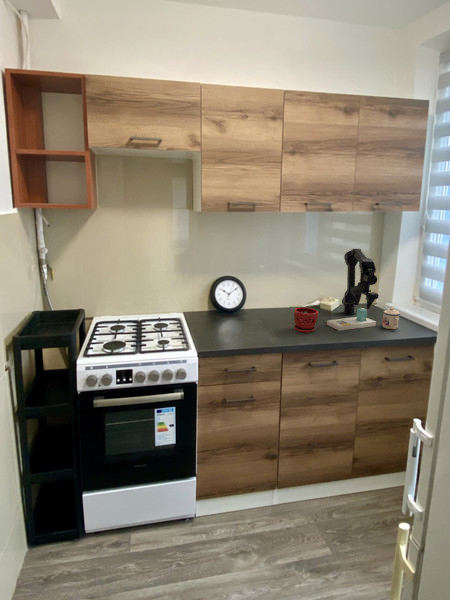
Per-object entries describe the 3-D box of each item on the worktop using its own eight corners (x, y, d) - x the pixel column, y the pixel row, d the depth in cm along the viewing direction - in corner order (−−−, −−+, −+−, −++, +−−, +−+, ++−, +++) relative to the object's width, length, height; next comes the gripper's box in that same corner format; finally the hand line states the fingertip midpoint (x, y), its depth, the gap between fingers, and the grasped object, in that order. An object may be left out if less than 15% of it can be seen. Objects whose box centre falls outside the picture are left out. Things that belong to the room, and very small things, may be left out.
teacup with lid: (378, 324, 249) (380, 306, 246) (393, 324, 250) (395, 305, 247) (389, 331, 237) (391, 311, 234) (404, 330, 238) (406, 311, 236)
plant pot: (298, 334, 230) (299, 313, 227) (290, 327, 243) (291, 307, 240) (320, 333, 233) (322, 312, 230) (311, 326, 245) (312, 306, 242)
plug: (356, 323, 251) (357, 307, 249) (361, 322, 253) (362, 307, 250) (360, 325, 248) (361, 309, 245) (365, 324, 249) (367, 308, 247)
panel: (326, 324, 248) (327, 320, 248) (362, 320, 258) (362, 316, 257) (339, 330, 238) (339, 326, 237) (375, 325, 247) (376, 321, 246)
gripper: (343, 278, 249) (341, 304, 253) (364, 285, 232) (361, 312, 236) (358, 277, 253) (356, 302, 257) (380, 284, 236) (377, 310, 240)
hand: (362, 306), depth 248 cm, fingers open, 9 cm apart
